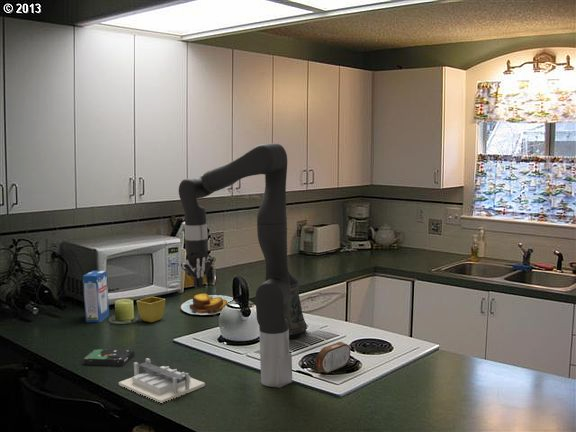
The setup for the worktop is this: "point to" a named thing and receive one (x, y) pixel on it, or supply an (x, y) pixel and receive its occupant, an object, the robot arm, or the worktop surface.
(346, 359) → the tin
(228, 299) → the food on plate
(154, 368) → the strap
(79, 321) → the worktop surface
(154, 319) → the flower pot
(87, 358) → the disk drive
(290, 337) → the beer stein
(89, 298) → the milk carton
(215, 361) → the worktop surface
